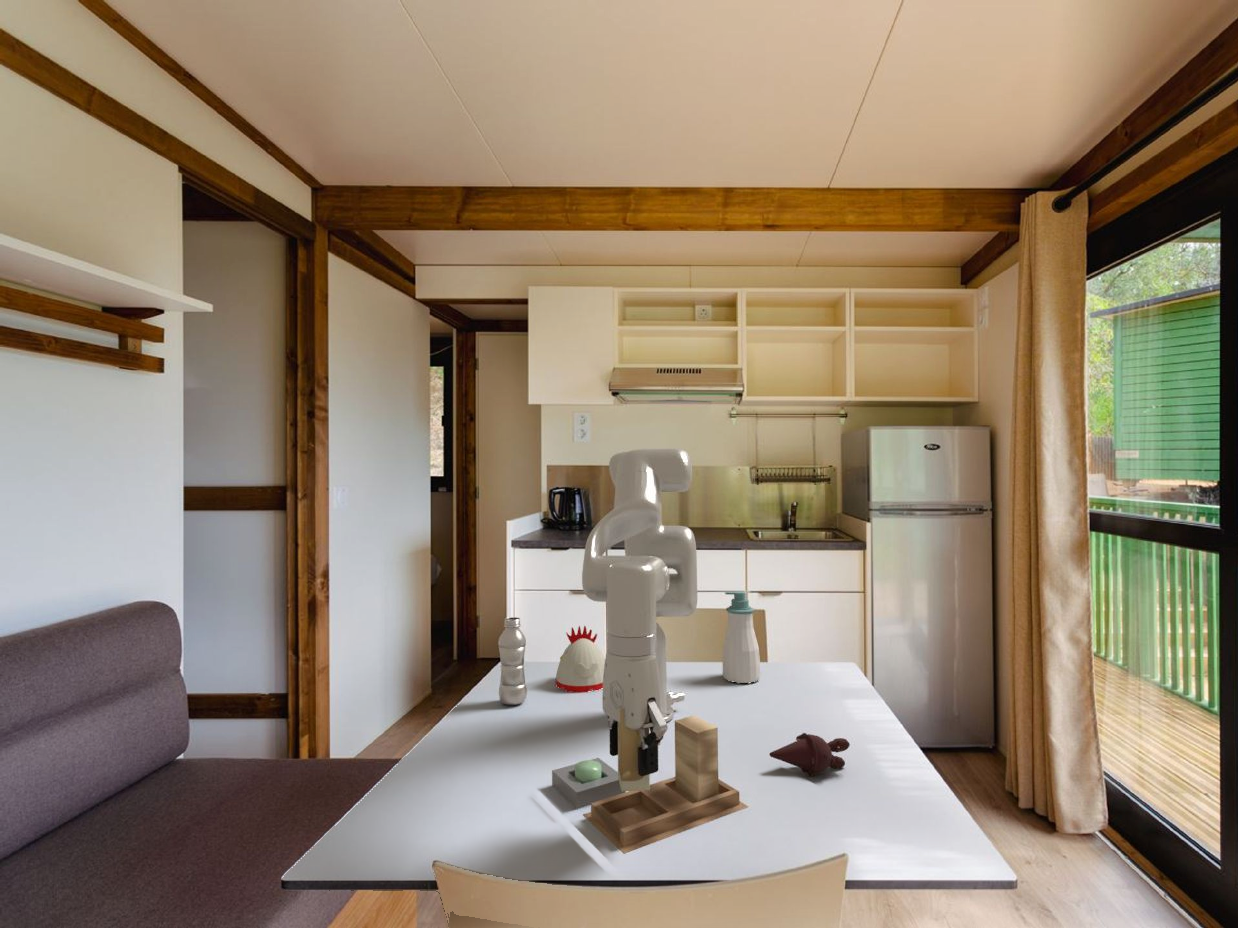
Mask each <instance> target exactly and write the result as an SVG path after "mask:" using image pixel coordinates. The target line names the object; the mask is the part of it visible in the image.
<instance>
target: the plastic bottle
mask: <svg viewBox="0 0 1238 928" xmlns="http://www.w3.org/2000/svg"><path fill="white" fill-rule="evenodd" d="M503 621H504V625H503V627H504V628H505V629H504V630H502V631H503V632H502V633H501V634H500V636H499V638H498V642H497V643H498V650H499V657H500V684H499V688H498V697H499V701H500V702H501V703H502V704H504V705H508V706H509V705H510V706H515V705H520V704H522V703H524V702H525V700H526V699H527V695H528V689H527V683H526V677H525V653H526V645H527V640H526V639H527V638H526V636H525V635H524V633H523V631H522V630H521V629H520V628H521V626H522V625H521V617H518V616H517V617H513V616H512V617H505V618H504V620H503Z"/></svg>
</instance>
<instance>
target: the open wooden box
mask: <svg viewBox="0 0 1238 928" xmlns="http://www.w3.org/2000/svg"><path fill="white" fill-rule="evenodd" d="M718 783H719V795H716V796H714V797H711V798H708V799H705V800H702V801H699V802H696V803H694V804H692V803H691V802H690V801H688V800H687V799H685V798H684V797H682V796H681V795H679V794H678V793H677V792H676V783H675V776H673V777H670V778H667V779H664V780H660V781H657V782H654V783H650V789H649V790H640V791H626V792H625V793H622V794H619V795H616V796H613V797H610V798H606V799H603V800H600V801H597V802H594V803H591V805H590V812H589V811H588V812H586V813H582V816H583V817H584V818H585V819H587V820H588V821H589V822H590V823H591V824H592V825H593V826H594V827H595V828H596V829H597V830H598V831H599V832H600V833H601V834H602V835H604V836H605V837H606V839H608V840H609V841H610V842H611V843H612V844H613V845H614V846H615V847H616V848H617V849H619V850H620V851H621V852H622V853H623V854H627V853H629V852H633V851H635V850H638V849H641V848H643V847H645V846H648V845H651V844H654V843H656V842H660V841H662V840H664V839H667V838H670V837H672V836H675V835H678V834H681V833H683V832H686V831H688V830H691V829H694V828H696V827H699V826H702V825H704V824H706V823H707V824H708V823H709V822H712V821H715V820H718V819H720V818H723V817H725V816H728V815H731V814H733V813H736V812H739V811H742V810H744V809H747V808H749V806H748V805H746V804H745V803H744V802H743V801H741V800H740V791H739V790H737V789H736V788H734V787H733V786H731V785H729V784H728V783H726V782H724V781H722V780H721V779H720V778H718Z"/></svg>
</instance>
